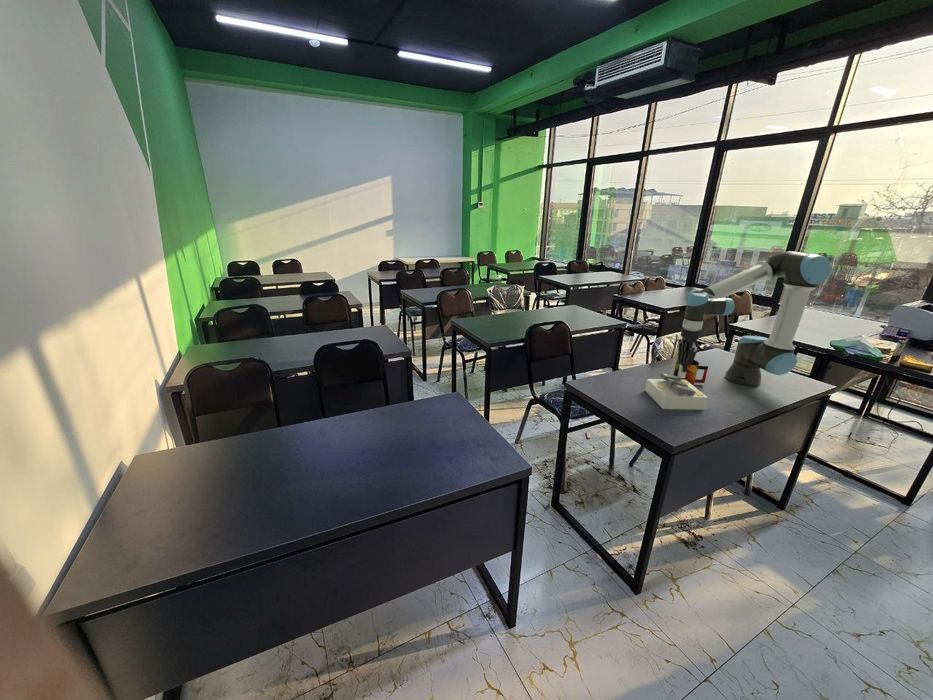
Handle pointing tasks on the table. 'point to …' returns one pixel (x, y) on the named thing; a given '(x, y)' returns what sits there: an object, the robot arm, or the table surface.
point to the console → (674, 395)
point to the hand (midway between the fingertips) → (681, 377)
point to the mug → (692, 372)
